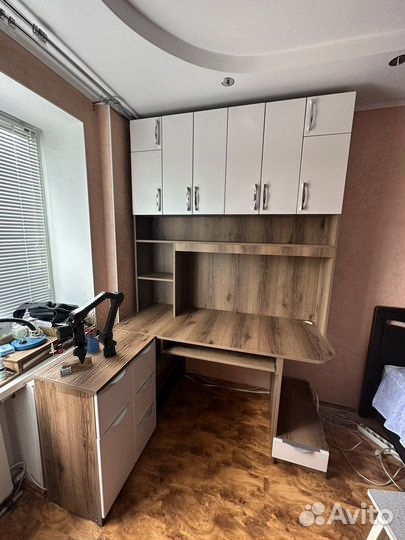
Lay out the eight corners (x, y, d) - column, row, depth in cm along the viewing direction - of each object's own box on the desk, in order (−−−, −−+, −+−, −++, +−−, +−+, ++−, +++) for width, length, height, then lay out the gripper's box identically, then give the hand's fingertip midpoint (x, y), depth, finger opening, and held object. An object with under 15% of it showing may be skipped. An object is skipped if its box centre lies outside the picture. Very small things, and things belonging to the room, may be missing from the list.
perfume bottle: (85, 351, 144) (83, 334, 142) (94, 347, 149) (92, 330, 148) (91, 354, 141) (88, 335, 139) (100, 349, 146) (97, 332, 144)
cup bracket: (72, 366, 127) (72, 361, 127) (71, 373, 120) (70, 367, 120) (62, 368, 125) (61, 363, 125) (60, 376, 118) (59, 370, 118)
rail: (92, 363, 130) (91, 356, 129) (92, 366, 126) (91, 359, 125) (64, 370, 124) (63, 362, 123) (63, 374, 120) (62, 366, 120)
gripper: (64, 330, 128) (68, 356, 130) (59, 343, 112) (63, 372, 114) (86, 326, 133) (89, 351, 135) (84, 338, 116) (88, 366, 118)
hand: (82, 359), depth 125 cm, fingers open, 9 cm apart
